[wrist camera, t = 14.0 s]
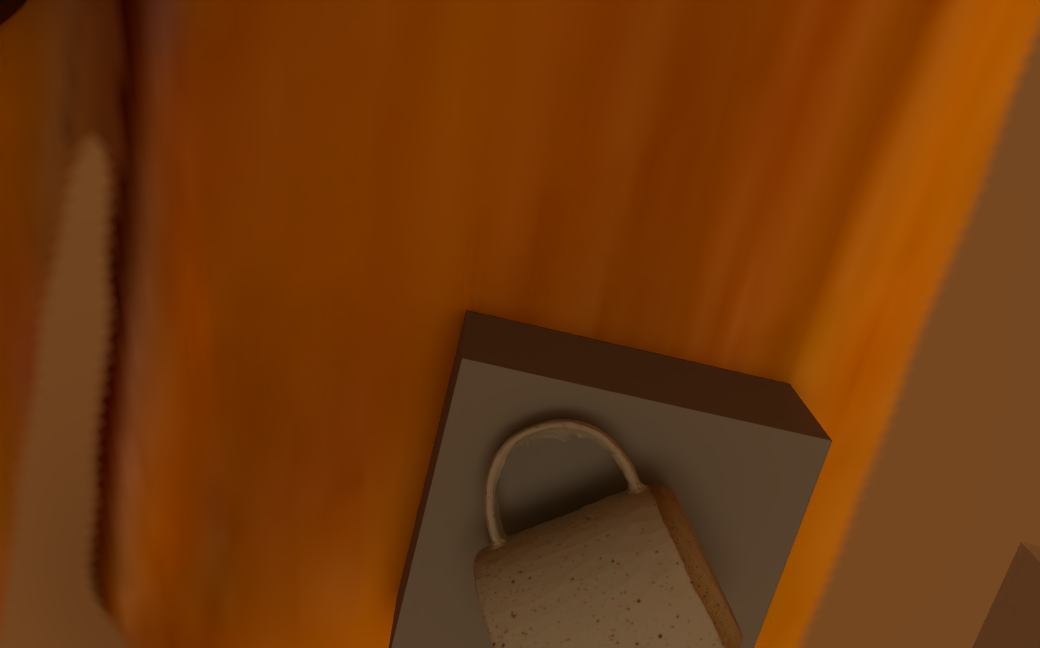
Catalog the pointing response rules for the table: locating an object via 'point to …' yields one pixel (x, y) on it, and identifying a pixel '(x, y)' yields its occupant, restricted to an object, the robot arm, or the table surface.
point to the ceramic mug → (599, 567)
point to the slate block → (604, 465)
